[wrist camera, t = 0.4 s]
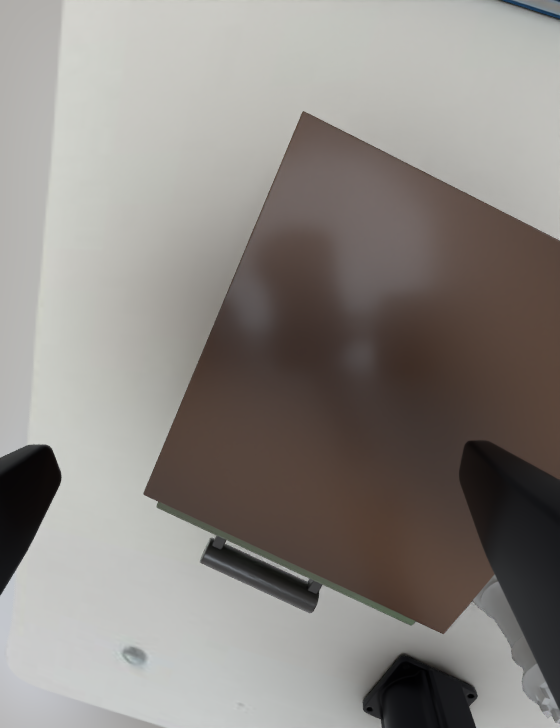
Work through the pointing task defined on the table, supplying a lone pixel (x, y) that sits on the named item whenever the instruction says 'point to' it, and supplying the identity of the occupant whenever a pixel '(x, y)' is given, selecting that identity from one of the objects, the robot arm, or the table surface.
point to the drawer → (268, 571)
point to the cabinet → (369, 376)
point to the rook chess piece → (517, 646)
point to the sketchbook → (540, 6)
